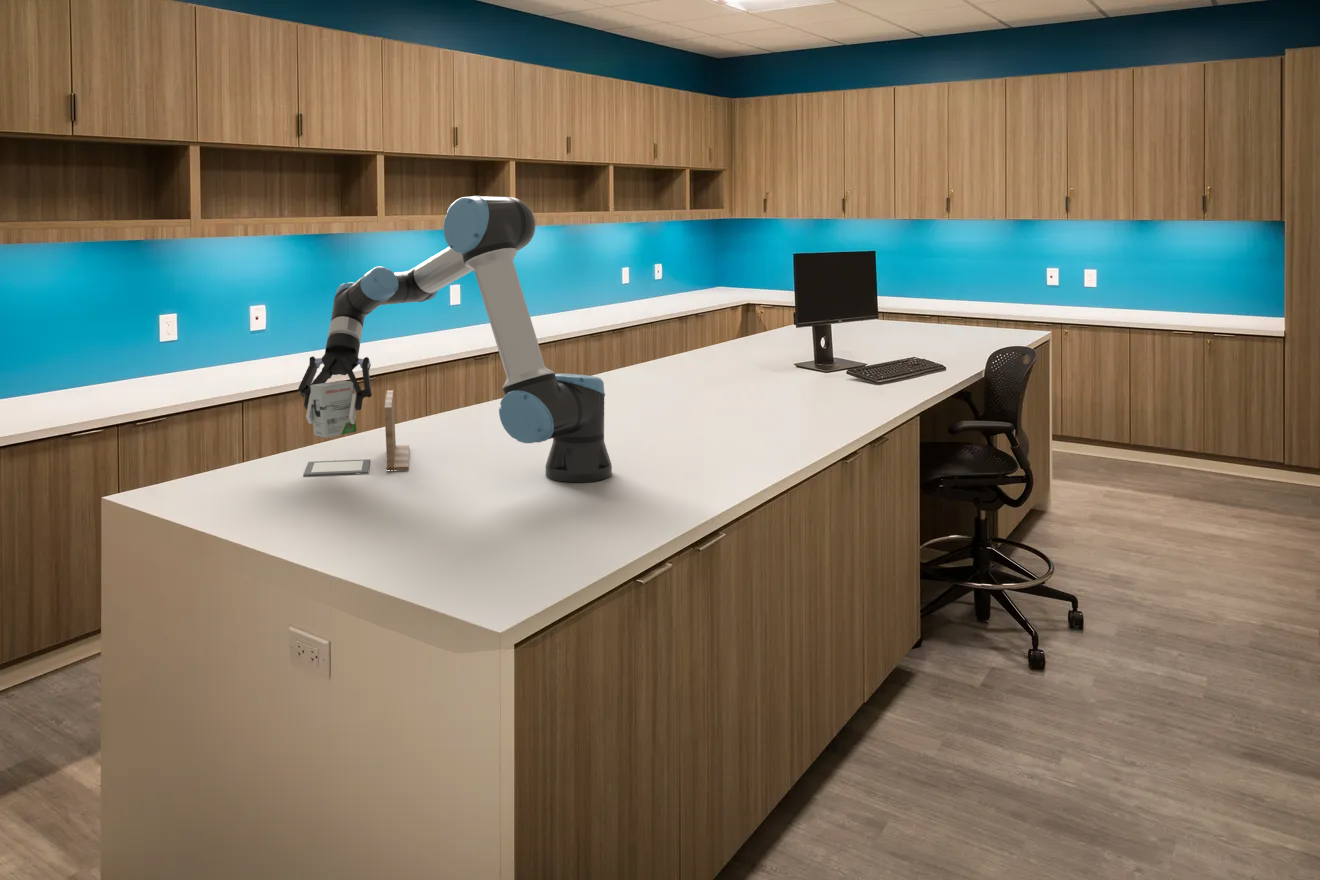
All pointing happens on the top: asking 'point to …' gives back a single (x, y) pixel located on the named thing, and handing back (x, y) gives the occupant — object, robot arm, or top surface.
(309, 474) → the mat
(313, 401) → the ink box
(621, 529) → the top surface
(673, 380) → the top surface
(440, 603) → the top surface
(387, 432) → the light wood l-shaped piece
